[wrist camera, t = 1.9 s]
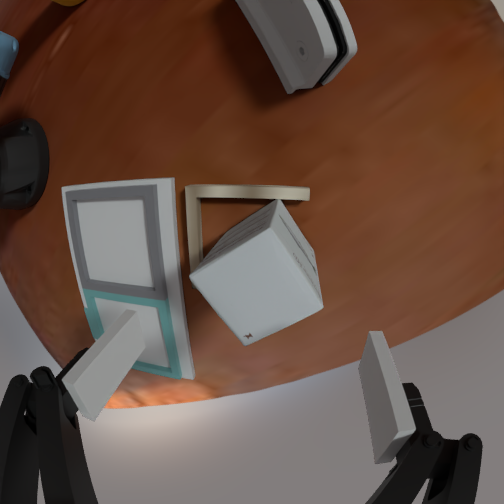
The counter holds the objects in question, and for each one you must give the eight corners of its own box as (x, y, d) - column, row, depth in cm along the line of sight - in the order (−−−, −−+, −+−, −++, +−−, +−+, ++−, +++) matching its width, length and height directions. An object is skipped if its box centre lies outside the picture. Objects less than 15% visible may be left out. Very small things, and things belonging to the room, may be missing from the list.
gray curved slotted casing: (228, -10, 21) (241, -64, 12) (264, -16, 22) (286, -65, 12) (289, 97, 26) (329, 60, 16) (325, 87, 26) (375, 54, 16)
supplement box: (315, 250, 31) (327, 311, 19) (260, 281, 33) (242, 350, 21) (280, 194, 29) (271, 224, 18) (224, 229, 32) (184, 278, 20)
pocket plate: (104, 354, 43) (98, 361, 41) (66, 186, 33) (56, 188, 31) (195, 375, 41) (191, 384, 39) (174, 177, 30) (167, 179, 28)
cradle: (195, 283, 35) (192, 288, 33) (189, 184, 30) (185, 186, 29) (301, 290, 33) (302, 296, 32) (308, 187, 29) (309, 188, 27)
